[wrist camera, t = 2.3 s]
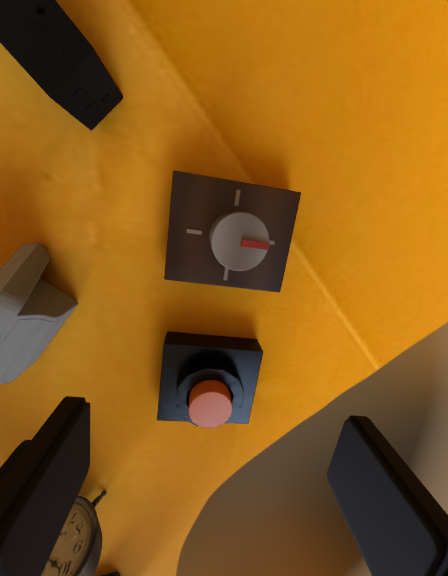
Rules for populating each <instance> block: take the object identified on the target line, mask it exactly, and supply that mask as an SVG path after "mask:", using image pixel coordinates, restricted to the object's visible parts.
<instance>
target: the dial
mask: <svg viewBox="0 0 448 576" xmlns="http://www.w3.org/2000/svg"><path fill="white" fill-rule="evenodd" d="M209 243H210V246H211V248H212V251H213V253H214V255H215V257H216V259H217V260H218V261H219V262H220V263H221V264H222V265H223V266H225V267H226V268H228V269H231V270H235V271H244V270H248V269H251V268H253V267H255V266H256V265H258V264H259V263H260V262H261V261H262V260H263V258H264V257H265V255H266V253H267V250H269V245H270V243H269V235H268V231H267V229H266V227H265V225H264V223H263V222H262V221H261V220H260V219H259V218H258V217H256V216H254V215H253V214H250V213H246V212H235V213H228V214H224V215H222V216H220V217H218V218H217V219H216V220H215V221H214V222H213V224H212V226H211V228H210V231H209Z"/></svg>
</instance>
